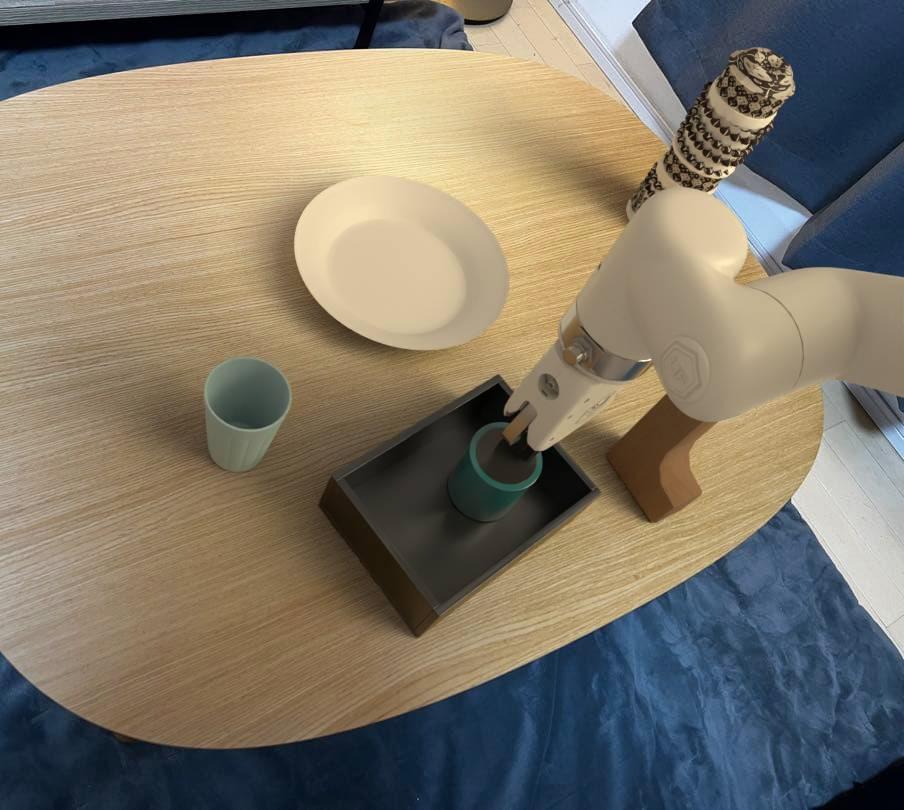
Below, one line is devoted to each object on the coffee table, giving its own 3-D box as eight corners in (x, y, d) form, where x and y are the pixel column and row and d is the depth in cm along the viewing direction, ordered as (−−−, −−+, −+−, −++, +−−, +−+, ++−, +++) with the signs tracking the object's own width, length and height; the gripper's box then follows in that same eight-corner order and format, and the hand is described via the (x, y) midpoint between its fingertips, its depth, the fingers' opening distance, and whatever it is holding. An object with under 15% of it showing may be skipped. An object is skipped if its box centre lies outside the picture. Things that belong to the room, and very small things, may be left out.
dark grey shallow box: (572, 520, 87) (603, 493, 81) (417, 639, 77) (439, 617, 71) (476, 406, 92) (498, 373, 86) (317, 504, 82) (330, 474, 76)
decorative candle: (654, 253, 110) (775, 100, 90) (609, 203, 113) (716, 44, 92) (699, 233, 114) (825, 82, 94) (654, 185, 117) (766, 28, 97)
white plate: (308, 373, 89) (314, 355, 86) (274, 195, 101) (278, 173, 98) (523, 363, 96) (535, 345, 93) (468, 198, 108) (477, 177, 105)
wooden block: (681, 510, 91) (789, 430, 76) (651, 525, 89) (755, 446, 74) (633, 441, 94) (727, 351, 79) (603, 454, 92) (693, 365, 77)
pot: (484, 445, 88) (509, 409, 81) (528, 498, 86) (557, 465, 79) (433, 479, 85) (454, 445, 78) (478, 534, 83) (503, 504, 76)
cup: (277, 416, 85) (292, 360, 77) (275, 485, 82) (291, 435, 73) (200, 409, 84) (207, 351, 75) (194, 479, 80) (201, 427, 71)
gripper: (581, 414, 59) (489, 517, 74) (706, 329, 66) (598, 439, 81) (510, 336, 61) (435, 452, 76) (639, 262, 68) (547, 381, 83)
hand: (520, 445), depth 79 cm, fingers closed
